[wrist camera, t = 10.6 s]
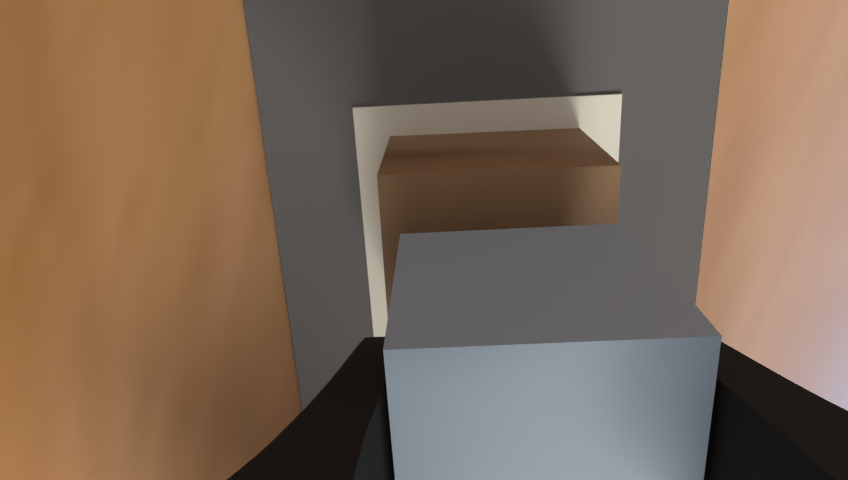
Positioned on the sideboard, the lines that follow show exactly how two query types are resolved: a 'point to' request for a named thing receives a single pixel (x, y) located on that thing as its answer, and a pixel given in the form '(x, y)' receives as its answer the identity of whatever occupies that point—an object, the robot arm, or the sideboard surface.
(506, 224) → the walnut block
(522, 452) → the blue block
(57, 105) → the sideboard surface
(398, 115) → the mat
